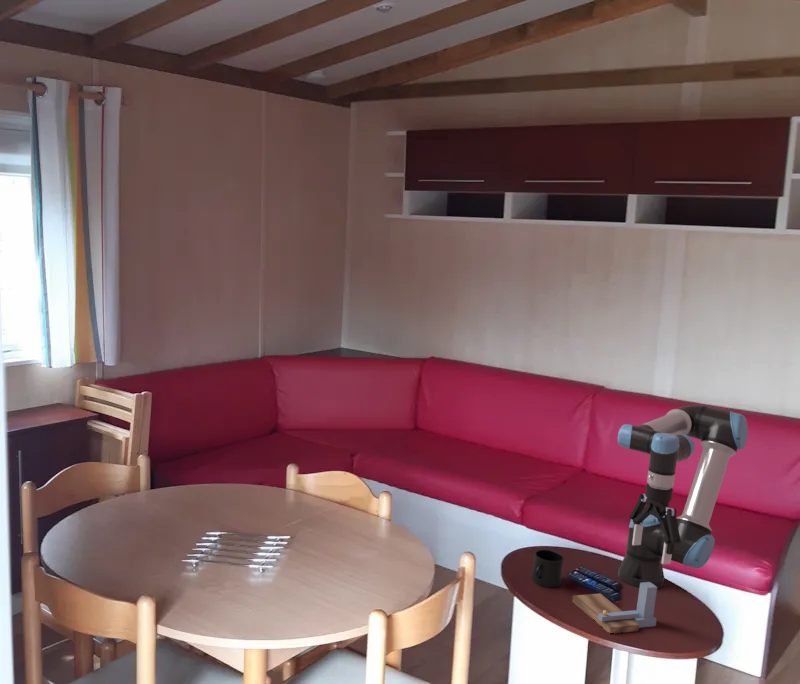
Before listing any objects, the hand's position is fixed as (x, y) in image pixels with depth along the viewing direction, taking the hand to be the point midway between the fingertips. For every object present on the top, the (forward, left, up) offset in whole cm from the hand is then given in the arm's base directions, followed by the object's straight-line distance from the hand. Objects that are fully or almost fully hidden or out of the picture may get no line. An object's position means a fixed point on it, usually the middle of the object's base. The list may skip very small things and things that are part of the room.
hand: (650, 553), depth 231 cm
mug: (+17, -28, -21) cm, 40 cm away
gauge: (+7, +1, -21) cm, 22 cm away
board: (+10, -4, -21) cm, 24 cm away
